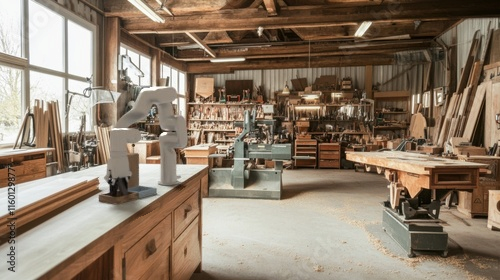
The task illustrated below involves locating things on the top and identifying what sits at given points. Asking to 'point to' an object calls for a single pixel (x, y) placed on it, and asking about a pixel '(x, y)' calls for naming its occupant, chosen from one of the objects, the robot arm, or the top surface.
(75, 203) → the top surface
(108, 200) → the walnut bin
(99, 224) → the top surface
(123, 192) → the black angular piece
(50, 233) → the top surface
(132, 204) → the top surface
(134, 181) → the block
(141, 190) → the slate tray
